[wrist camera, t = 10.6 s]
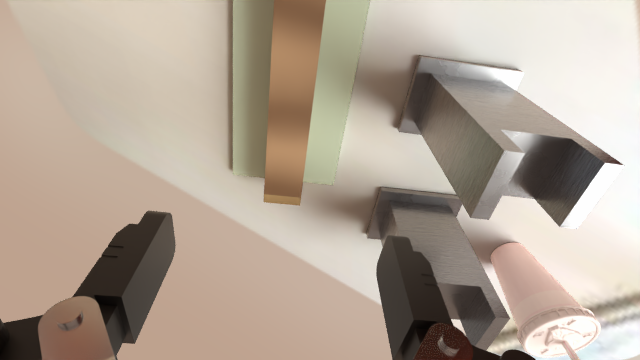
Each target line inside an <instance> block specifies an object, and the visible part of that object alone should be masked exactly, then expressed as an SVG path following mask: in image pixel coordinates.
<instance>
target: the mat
mask: <svg viewBox="0 0 640 360" xmlns="http://www.w3.org/2000/svg"><path fill="white" fill-rule="evenodd" d="M369 4H370V0H326V4H325V12H324V20H323V28H322V36H321V44H320V51H319V59H318V67H317V75H316V83H315V91H314V99H313V106H312V114H311V122H310V130H309V138H308V146H307V154H306V162H305V169H304V177H303V182H307V183H316V184H325V185H333V184H334V179H335V174H336V169H337V164H338V159H339V154H340V149H341V144H342V139H343V134H344V129H345V124H346V119H347V114H348V109H349V104H350V99H351V94H352V89H353V84H354V79H355V74H356V69H357V64H358V59H359V54H360V49H361V44H362V39H363V34H364V29H365V24H366V19H367V14H368V9H369ZM273 12H274V0H233V175H242V176H252V177H261V178H265V167H266V147H267V128H268V109H269V89H270V70H271V51H272V32H273Z"/></svg>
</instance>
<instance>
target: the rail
mask: <svg viewBox="0 0 640 360" xmlns="http://www.w3.org/2000/svg"><path fill="white" fill-rule="evenodd" d="M325 4H326V0H274V12H273V32H272V51H271V70H270V89H269V109H268V128H267V147H266V167H265V186H264V202H269V203H279V204H290V205H300V201H301V193H302V185H303V177H304V169H305V162H306V154H307V146H308V138H309V130H310V122H311V114H312V106H313V99H314V91H315V83H316V75H317V67H318V59H319V51H320V44H321V36H322V28H323V20H324V12H325Z"/></svg>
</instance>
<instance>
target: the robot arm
mask: <svg viewBox="0 0 640 360" xmlns="http://www.w3.org/2000/svg"><path fill="white" fill-rule="evenodd" d="M174 252H175V237H174V229H173V221H172V215H171V214H170V213H166V212H157V211H156V212H155V211H147V212H146V213H145V214H144V216H143V218H142V219H141V221H140V222H139V224H129V225H127V226H126V227H124V228H123V229H122V230H120V231H119V232H118V233H116V235H115V236H114V238H113V239H112V241H111V242H110V243H109V245H108V248H106V249H105V251H104V252H103V254H102V257H101V258H99V260H98V261H97V262H96V264H95V265H94V267H93V268H92V270H91V271H90V273H89V274H88V275H87V277H86V279H85V280H84V281H83V283H82V284H81V286H80V287H79V288H78V290H77V291H76V293H75V294H74V296H73V297H71V298H68V299H65V300H63V301H60V302H59V303H57V304H55V305H54V306H52V307H51V308H50V309H49V310H47V312H46V313H45V314H44V315H41V316H37V317H32V318H28V319H22V320H17V321H12V322H6V323H3V322H2V321H1V319H0V360H118V359H117V356H116V355H117V353H118V351H119V349H120V347H121V345H122V343H132V344H133V343H134V344H135V342H136V340H137V338H138V335H139V333H140V331H141V329H142V326H143V324H144V322H145V320H146V318H147V315H148V313H149V311H150V308H151V306H152V304H153V302H154V300H155V298H156V295H157V293H158V291H159V288H160V286H161V284H162V282H163V280H164V277H165V275H166V273H167V271H168V268H169V266H170V264H171V262H172V259H173V257H174ZM377 282H378V287H379V292H380V297H381V302H382V307H383V312H384V318H385V323H386V328H387V333H388V338H389V343H390V348H391V354H392V359H393V360H535V359H534V358H533V357H532V356H530V355H528V354H527V353H524V352H522V351H519V350H508V351H506V352H504V353H503V355H502V356H498V355H496V354H493V353H491V352H488V351H485V350H483V349H480V348H478V347H475V346H474V345H472V344H471V343H470V341H469V340H468V338H467V337H466V336H465V334H464V333H463V332H462V331H460V330H459V329H458V328H456V327H454V326H453V323H452V321H451V318H450V316H449V313H448V310H447V308H446V305H445V302H444V299H443V297H442V294H441V291H440V289H439V287H438V283H437V281H436V278H435V277H434V273H433V270H432V267H431V265H430V262H429V261H428V260H427V259H426V258H425V256H424V255H423V254H422V253H421V252H417V251H413V248H412V245H411V242H410V239H409V238H408V237H403V236H393V235H388V236H387V238H386V240H385V243H384V246H383V249H382V251H381V254H380V257H379V260H378V263H377Z"/></svg>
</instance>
